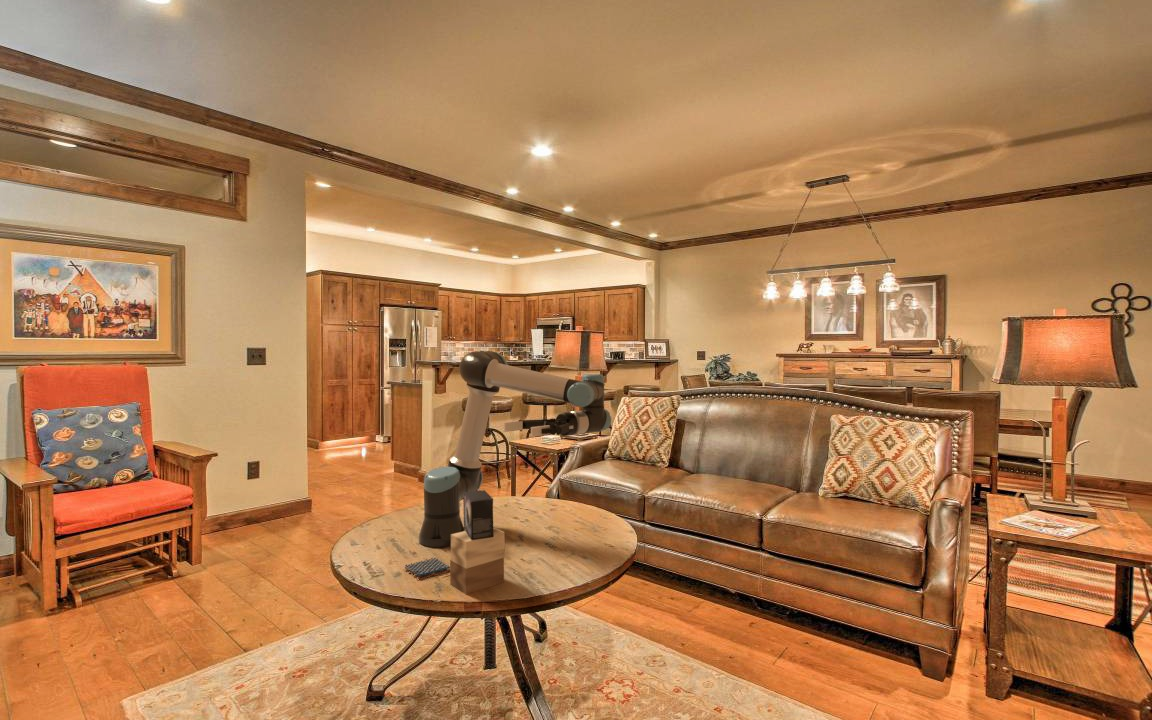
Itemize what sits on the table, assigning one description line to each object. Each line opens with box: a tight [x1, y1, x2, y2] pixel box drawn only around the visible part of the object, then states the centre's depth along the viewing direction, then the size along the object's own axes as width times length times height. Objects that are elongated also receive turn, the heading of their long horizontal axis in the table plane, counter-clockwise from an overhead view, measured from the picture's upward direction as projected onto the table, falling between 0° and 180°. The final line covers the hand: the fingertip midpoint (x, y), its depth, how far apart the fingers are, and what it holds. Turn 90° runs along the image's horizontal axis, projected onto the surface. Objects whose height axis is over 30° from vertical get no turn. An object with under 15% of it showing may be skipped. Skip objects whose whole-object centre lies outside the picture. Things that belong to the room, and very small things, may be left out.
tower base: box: [449, 557, 505, 595], centre depth 153 cm, size 8×12×7 cm, turn 132°
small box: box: [462, 489, 494, 540], centre depth 152 cm, size 11×6×10 cm, turn 23°
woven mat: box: [404, 557, 450, 580], centre depth 162 cm, size 10×11×2 cm
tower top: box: [450, 526, 506, 569], centre depth 152 cm, size 8×12×7 cm, turn 132°
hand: (517, 429), depth 167 cm, fingers open, 13 cm apart
